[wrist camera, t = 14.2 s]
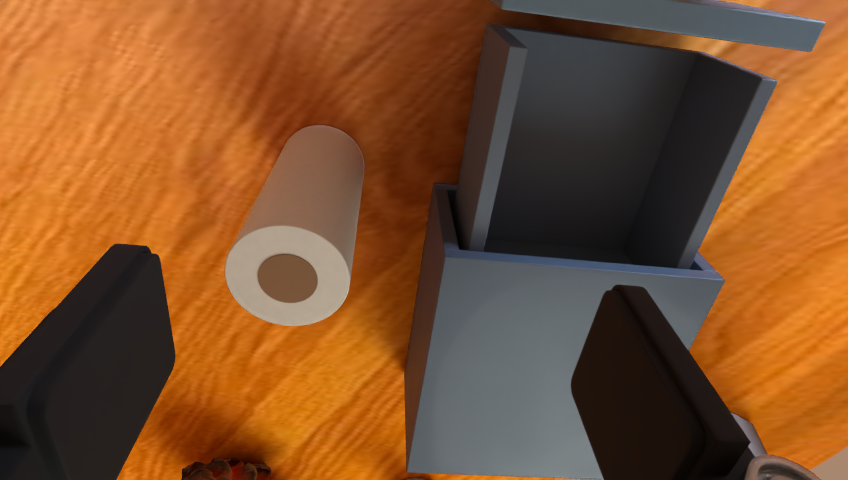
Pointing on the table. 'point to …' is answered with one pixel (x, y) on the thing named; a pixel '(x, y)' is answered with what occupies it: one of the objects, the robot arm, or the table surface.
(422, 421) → the cabinet
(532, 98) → the drawer
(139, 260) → the robot arm
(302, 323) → the paper roll
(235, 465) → the dragon fruit
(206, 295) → the table surface
